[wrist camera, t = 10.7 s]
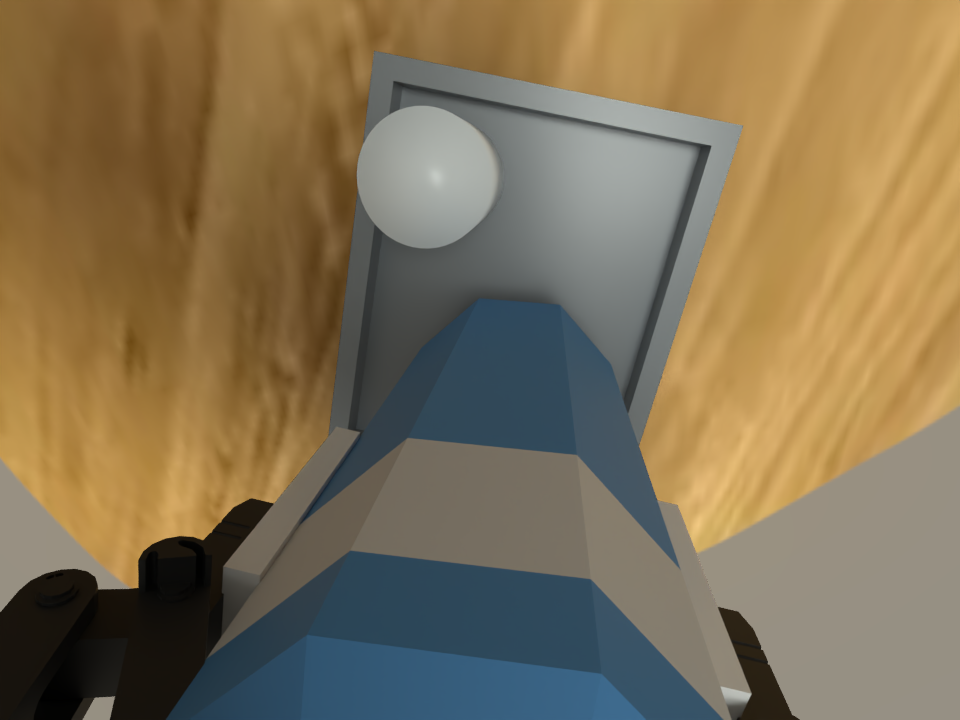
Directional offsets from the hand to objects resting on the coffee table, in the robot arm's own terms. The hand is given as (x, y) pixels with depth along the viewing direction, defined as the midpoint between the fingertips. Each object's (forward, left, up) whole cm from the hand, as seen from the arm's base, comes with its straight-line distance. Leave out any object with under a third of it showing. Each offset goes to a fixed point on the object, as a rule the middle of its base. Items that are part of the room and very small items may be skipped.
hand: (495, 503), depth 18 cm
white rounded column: (-5, +9, -13) cm, 17 cm away
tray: (-1, +3, -14) cm, 15 cm away
